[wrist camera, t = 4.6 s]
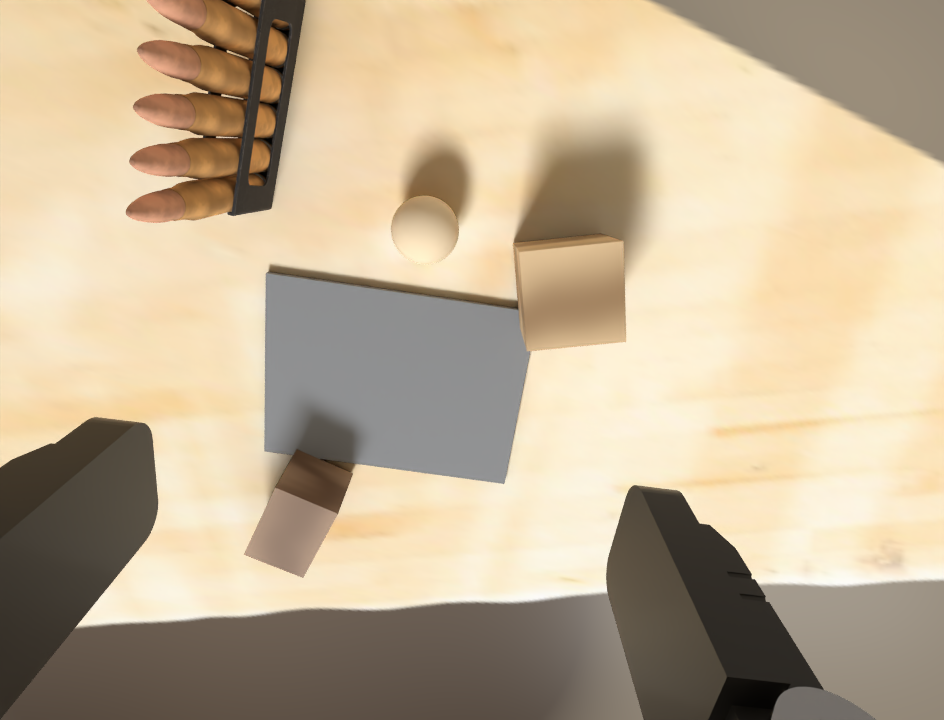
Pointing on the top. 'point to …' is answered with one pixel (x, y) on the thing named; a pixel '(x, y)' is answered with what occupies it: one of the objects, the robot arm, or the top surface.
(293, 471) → the walnut block
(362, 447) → the pad
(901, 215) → the top surface
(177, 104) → the ammunition clip
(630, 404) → the top surface
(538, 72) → the top surface
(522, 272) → the oak block
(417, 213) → the cork ball
